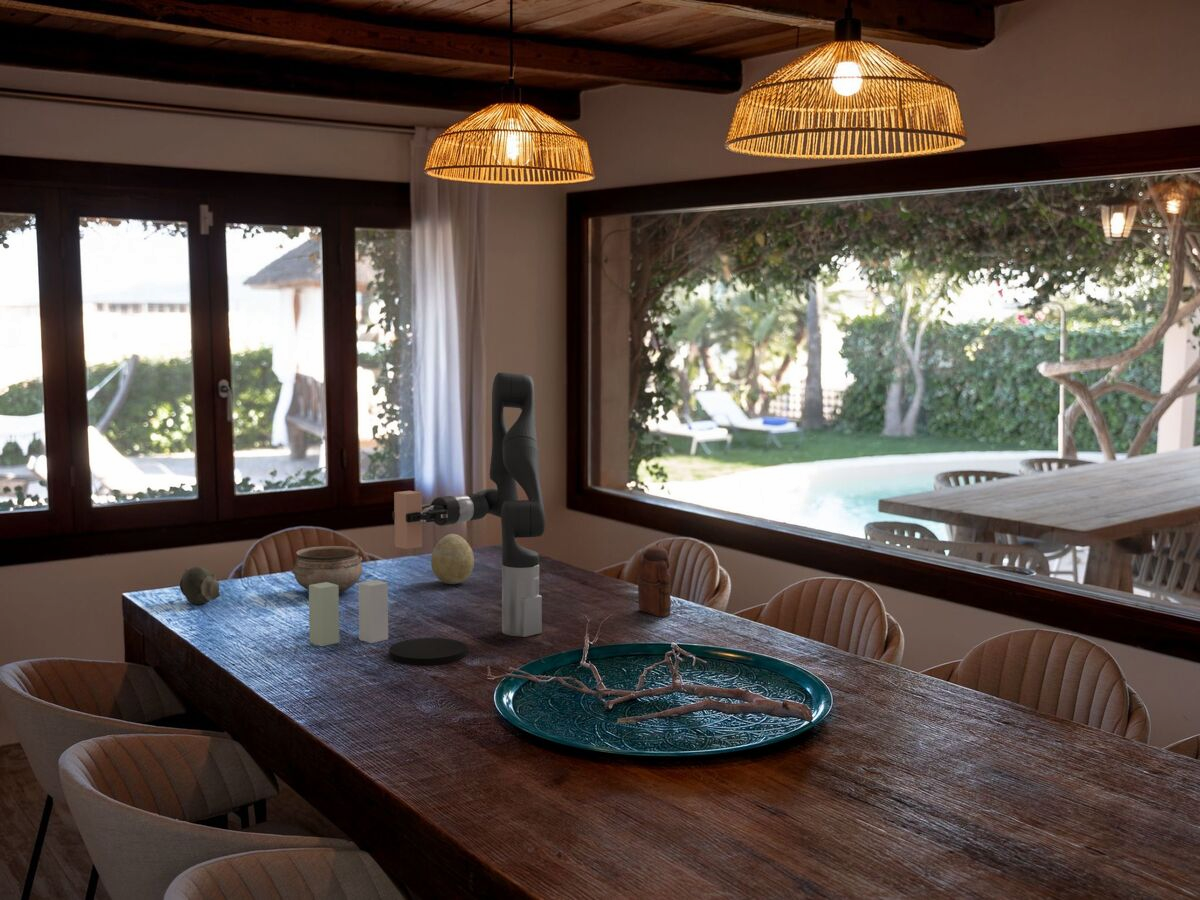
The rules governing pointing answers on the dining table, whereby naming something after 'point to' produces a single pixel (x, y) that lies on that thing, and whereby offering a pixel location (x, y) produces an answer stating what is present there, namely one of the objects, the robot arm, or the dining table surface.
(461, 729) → the dining table surface
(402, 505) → the terracotta block
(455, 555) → the fossilized egg
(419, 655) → the wireless charger
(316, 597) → the sage block
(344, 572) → the cooking pot
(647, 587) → the wooden figurine
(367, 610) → the light grey block
